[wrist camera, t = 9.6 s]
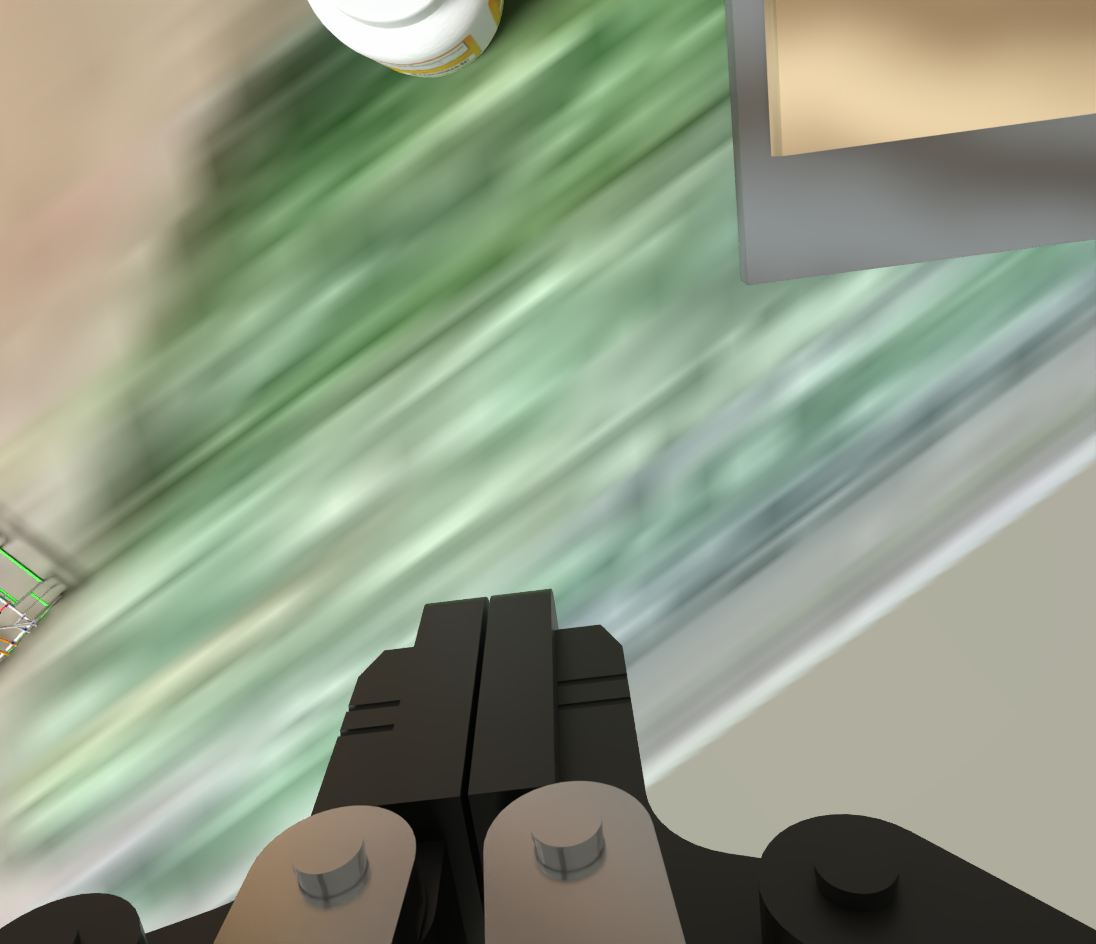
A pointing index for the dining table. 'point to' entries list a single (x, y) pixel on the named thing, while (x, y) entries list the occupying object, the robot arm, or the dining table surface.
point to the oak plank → (922, 68)
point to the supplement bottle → (414, 31)
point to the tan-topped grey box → (897, 185)
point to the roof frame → (31, 622)
